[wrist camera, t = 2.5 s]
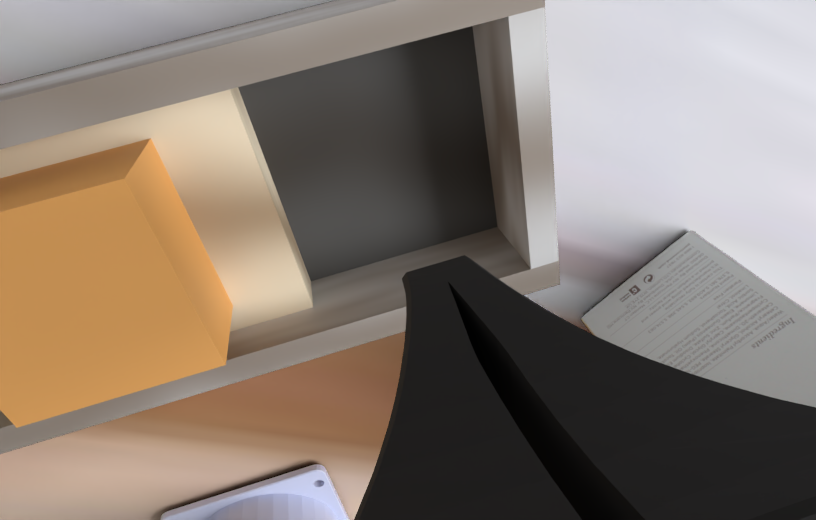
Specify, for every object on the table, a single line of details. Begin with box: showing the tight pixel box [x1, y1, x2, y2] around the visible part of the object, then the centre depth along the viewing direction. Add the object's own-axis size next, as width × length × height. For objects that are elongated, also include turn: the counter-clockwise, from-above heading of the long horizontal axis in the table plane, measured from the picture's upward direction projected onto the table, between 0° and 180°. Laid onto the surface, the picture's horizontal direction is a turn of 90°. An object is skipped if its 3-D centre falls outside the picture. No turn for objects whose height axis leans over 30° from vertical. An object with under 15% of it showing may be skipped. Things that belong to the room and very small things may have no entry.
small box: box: [581, 231, 816, 407], centre depth 20 cm, size 8×6×13 cm
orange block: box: [0, 138, 233, 428], centre depth 15 cm, size 6×6×3 cm
